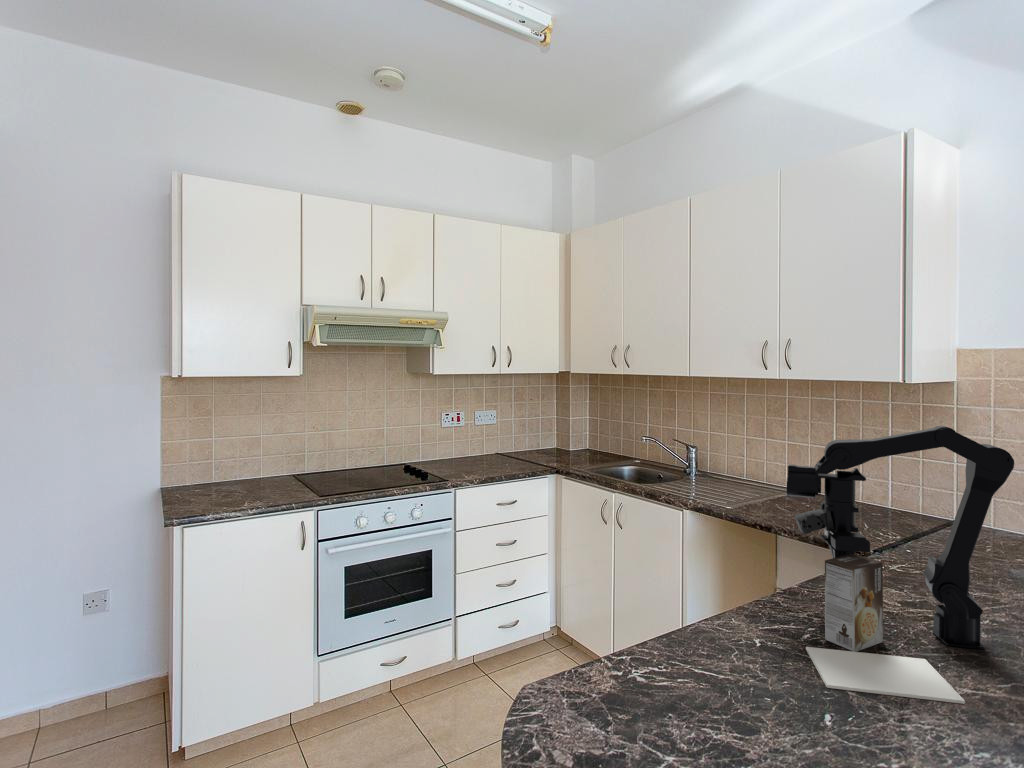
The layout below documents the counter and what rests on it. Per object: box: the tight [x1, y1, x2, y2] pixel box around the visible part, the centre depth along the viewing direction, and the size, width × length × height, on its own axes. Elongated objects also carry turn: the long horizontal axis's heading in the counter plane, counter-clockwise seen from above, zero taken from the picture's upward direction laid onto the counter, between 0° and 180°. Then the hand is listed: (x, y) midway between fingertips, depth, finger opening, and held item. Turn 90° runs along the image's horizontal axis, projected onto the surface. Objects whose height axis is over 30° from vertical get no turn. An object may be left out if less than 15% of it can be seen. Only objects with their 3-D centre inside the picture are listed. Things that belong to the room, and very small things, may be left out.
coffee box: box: [824, 554, 884, 652], centre depth 114 cm, size 9×6×16 cm
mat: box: [805, 646, 966, 705], centre depth 101 cm, size 20×14×1 cm
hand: (839, 572), depth 123 cm, fingers closed
